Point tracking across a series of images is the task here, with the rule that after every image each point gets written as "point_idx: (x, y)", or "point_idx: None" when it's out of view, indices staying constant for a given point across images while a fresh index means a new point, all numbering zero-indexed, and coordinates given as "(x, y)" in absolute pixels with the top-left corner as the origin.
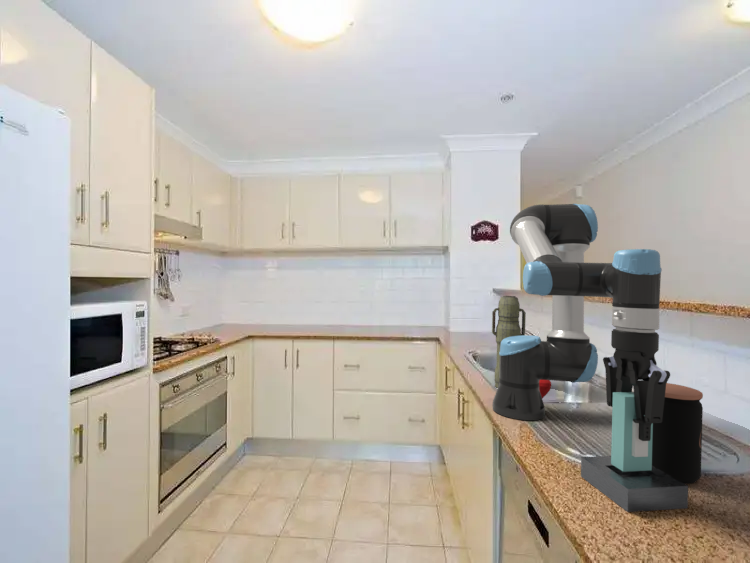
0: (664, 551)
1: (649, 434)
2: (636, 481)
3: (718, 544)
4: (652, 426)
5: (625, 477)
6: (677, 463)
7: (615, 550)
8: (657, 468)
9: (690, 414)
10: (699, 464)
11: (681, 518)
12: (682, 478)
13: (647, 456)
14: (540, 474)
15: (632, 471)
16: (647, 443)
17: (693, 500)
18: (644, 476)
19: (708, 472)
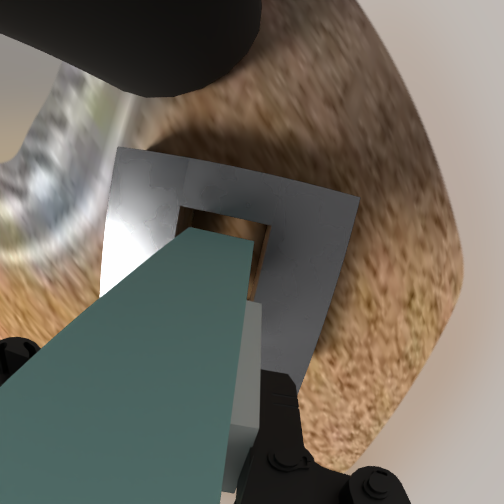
0: (392, 399)
1: (294, 407)
2: (274, 344)
3: (437, 286)
4: (241, 327)
5: None
6: (231, 45)
7: (348, 456)
8: (183, 89)
9: None
10: None
11: (360, 263)
12: (246, 53)
13: (261, 305)
14: None
15: (182, 227)
16: (260, 338)
17: (319, 125)
18: (259, 285)
19: None
